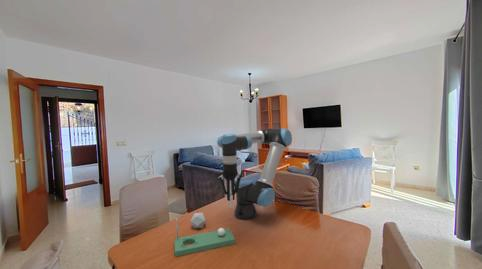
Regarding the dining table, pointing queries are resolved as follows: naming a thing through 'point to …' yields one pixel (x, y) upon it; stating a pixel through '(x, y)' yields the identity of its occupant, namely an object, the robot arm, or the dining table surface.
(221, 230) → the ball
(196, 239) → the mini golf green
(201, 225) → the die
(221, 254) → the dining table surface
